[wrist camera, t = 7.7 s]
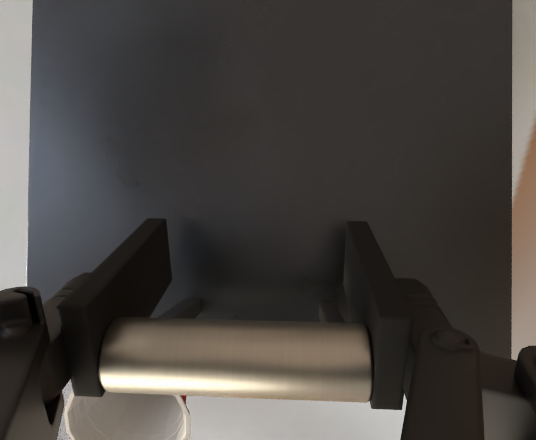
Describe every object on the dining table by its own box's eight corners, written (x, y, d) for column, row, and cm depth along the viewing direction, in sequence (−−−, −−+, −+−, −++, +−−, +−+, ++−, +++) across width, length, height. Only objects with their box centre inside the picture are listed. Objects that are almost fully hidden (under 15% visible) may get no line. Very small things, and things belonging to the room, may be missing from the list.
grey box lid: (502, 366, 18) (696, 495, 9) (34, 350, 20) (-176, 450, 11) (503, -133, 19) (691, -454, 10) (45, -114, 20) (-149, -380, 11)
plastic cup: (233, 355, 46) (213, 447, 34) (158, 392, 48) (116, 489, 37) (177, 281, 43) (136, 354, 32) (100, 324, 45) (36, 406, 34)
